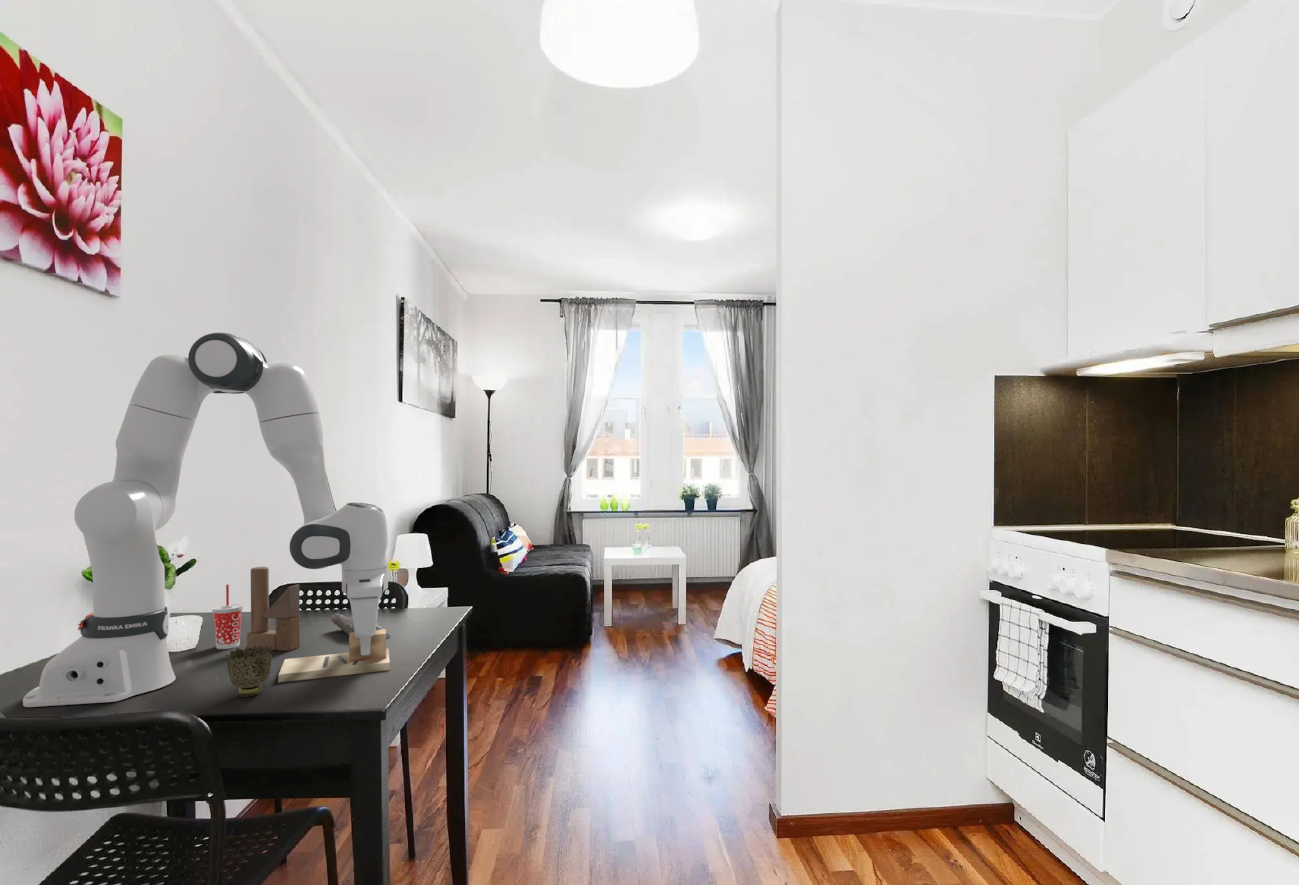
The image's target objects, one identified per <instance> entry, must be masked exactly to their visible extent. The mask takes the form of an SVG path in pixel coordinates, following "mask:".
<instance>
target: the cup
mask: <svg viewBox="0 0 1299 885" xmlns="http://www.w3.org/2000/svg"><path fill="white" fill-rule="evenodd" d="M273 651H274V650H273V648H272V646H271V647H270V648H269V649H268V646H265V648H264V649H263V647H262V646H259V647H258V648H257V647H256V646H254V647H253V649H249V648H248V647H247V646H246V647H245V649H243V648H239V647H236V649H235V650H230V651H229V655H228V653H225V654H226V655H225V656H226V662H227V671H228V672H227V673H228V675H229V680H230V683H232V685H233V686H234V687H236V688H238V694H239V696H240V697H245V698H249V697H253V696H257V695H258V694H260V693H261V691H262V690H263V689H262V688H263V687H262V685H263V684H264V683H265V682H266V681H267V679H268V678H269V675H270V673H271V667H272V659H273V658H272V657H273Z"/></svg>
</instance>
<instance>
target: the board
mask: <svg viewBox="0 0 1299 885" xmlns="http://www.w3.org/2000/svg"><path fill="white" fill-rule="evenodd" d="M390 663H391V662H390V648H386V658H383V659H373V660H364V661H354V662H349V652H341V653H333V654H331V653H330V654H324V655H323V654H322V655H321V654H320V655H314V656H311V655H310V656H304V657H295V658H284V660H283V663H282V665H281V668H280V670H279V672H278V676H277V678H278V681H277V682H278V683H287V682H295V681H304V680H312V679H313V680H314V679H320V678H331V677H340V676H348V675H356V674H357V675H358V674H367V673H375V672H376V673H377V672H383V671H390V670H391V667H390V666H391V665H390Z"/></svg>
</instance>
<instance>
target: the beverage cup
mask: <svg viewBox="0 0 1299 885" xmlns="http://www.w3.org/2000/svg"><path fill="white" fill-rule="evenodd" d="M229 587H230V586H229V584H226V585H225V589H226V590H225V594H226V595H225V598H226V599H225V600H226V602H225V604H221V605H220V604H219V605H216V606H213V607H212V608H211V613H213V624H214V627H213V628H214V636H215V637H214V638H215V648H216V649H217V650H227V649H228V650H229V649H234V648H238V647H239V646H240V644H241V643H240V641H241V628H242V625H241V624H242V610H243V609H244V608H243V607H244V605H243V603H242V604H240V603H230V602H229V600H230V599H229V598H230V597H229V594H230V591H229V590H230V588H229Z"/></svg>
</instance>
